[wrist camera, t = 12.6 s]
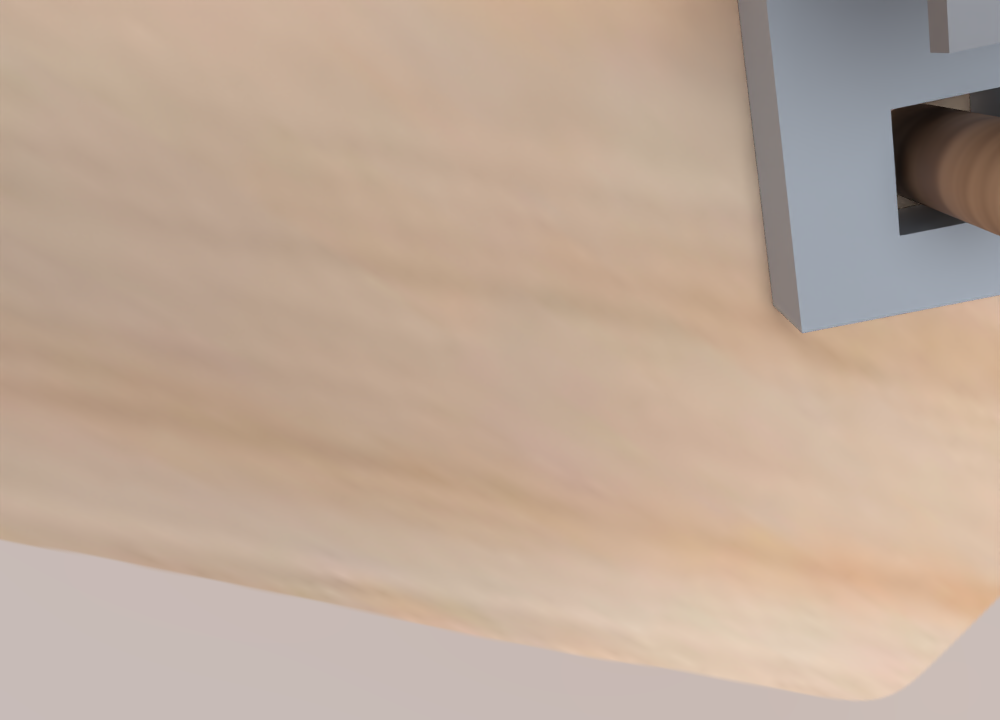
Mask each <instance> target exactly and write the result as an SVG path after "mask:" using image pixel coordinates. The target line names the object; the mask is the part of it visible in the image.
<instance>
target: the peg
mask: <svg viewBox="0 0 1000 720" xmlns="http://www.w3.org/2000/svg"><path fill="white" fill-rule="evenodd" d="M891 121H892V135H893V149H894V163H895V177H896V191H897V194H898V195H901V196H903V197H906V198H908V199H910V200H913V201H915V202H918V203H920V204H923V205H925V206H928V207H930V208H932V209H935V210H937V211H940V212H942V213H945V214H947V215H950V216H952V217H954V218H957V219H959V220H962V221H964V222H967V223H969V224H972V225H974V226H977V227H979V228H981V229H984V230H986V231H989V232H991V233H994V234H996V235H999V236H1000V117H997V116H991V115H986V114H980V113H974V112H968V111H962V110H956V109H950V108H945V107H939V106H933V105H927V104H915V105H910V106H905V107H901V108H896V109H894V110H892V111H891Z"/></svg>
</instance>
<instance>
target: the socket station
mask: <svg viewBox="0 0 1000 720" xmlns="http://www.w3.org/2000/svg"><path fill="white" fill-rule="evenodd" d="M738 9H739V17H740V26H741V34H742V43H743V51H744V60H745V68H746V77H747V86H748V94H749V103H750V111H751V120H752V128H753V137H754V145H755V154H756V163H757V171H758V180H759V188H760V197H761V205H762V214H763V222H764V231H765V240H766V248H767V257H768V265H769V274H770V282H771V291H772V299H773V306H774V307H775V308H776V309H777V310H778V311H780V312H781V313H782V314H783V315H784V316H785V317H786V318H787V319H788V320H789V321H790V322H791V323H792V324H793V325H794V326H795V327H796V328H797V329H798V330H799V331H800V332H801V333H806V332H811V331H816V330H821V329H826V328H832V327H837V326H842V325H847V324H852V323H857V322H863V321H868V320H873V319H878V318H883V317H889V316H894V315H899V314H904V313H909V312H914V311H920V310H925V309H930V308H935V307H940V306H945V305H951V304H956V303H961V302H966V301H971V300H976V299H982V298H987V297H992V296H997V295H1000V236H999V235H996V234H994V233H991V232H989V231H986V230H984V229H981V228H979V227H977V226H974V225H972V224H969V223H967V222H964V221H962V220H959V219H957V218H954V217H952V216H950V215H947V214H945V213H942V212H940V211H937V210H935V209H932V208H930V207H928V206H925V205H923V204H922V205H917V206H912V207H907V208H902V209H898V205H897V191H896V177H895V163H894V149H893V135H892V121H891V109H896V108H901V107H905V106H910V105H915V104H920V103H925V102H930V101H935V100H939V99H944V98H949V97H954V96H959V95H964V94H968V93H970V108H971V112H974V113H980V114H986V115H991V116H997V117H1000V0H738Z"/></svg>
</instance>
